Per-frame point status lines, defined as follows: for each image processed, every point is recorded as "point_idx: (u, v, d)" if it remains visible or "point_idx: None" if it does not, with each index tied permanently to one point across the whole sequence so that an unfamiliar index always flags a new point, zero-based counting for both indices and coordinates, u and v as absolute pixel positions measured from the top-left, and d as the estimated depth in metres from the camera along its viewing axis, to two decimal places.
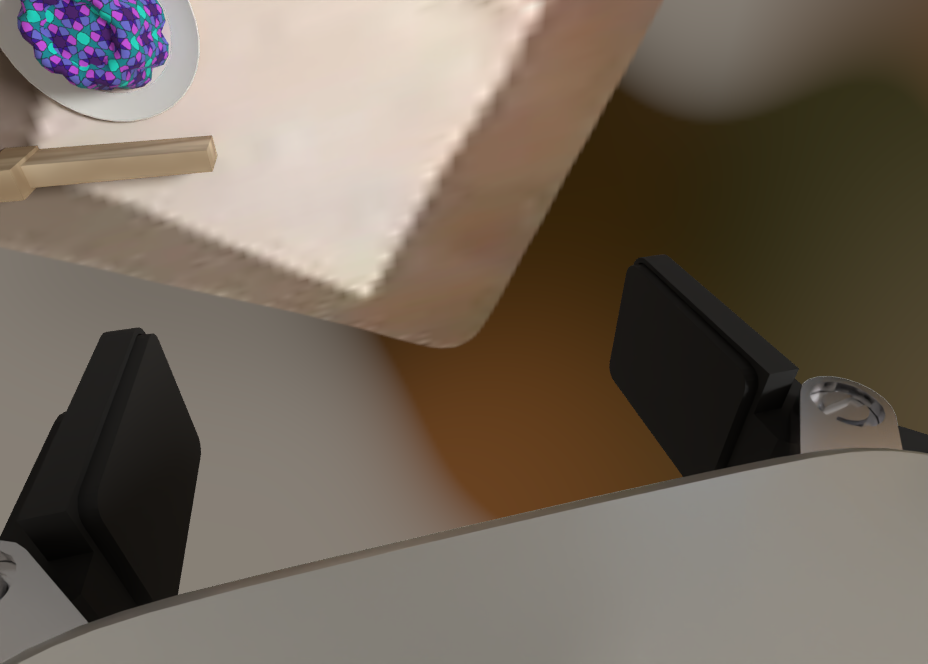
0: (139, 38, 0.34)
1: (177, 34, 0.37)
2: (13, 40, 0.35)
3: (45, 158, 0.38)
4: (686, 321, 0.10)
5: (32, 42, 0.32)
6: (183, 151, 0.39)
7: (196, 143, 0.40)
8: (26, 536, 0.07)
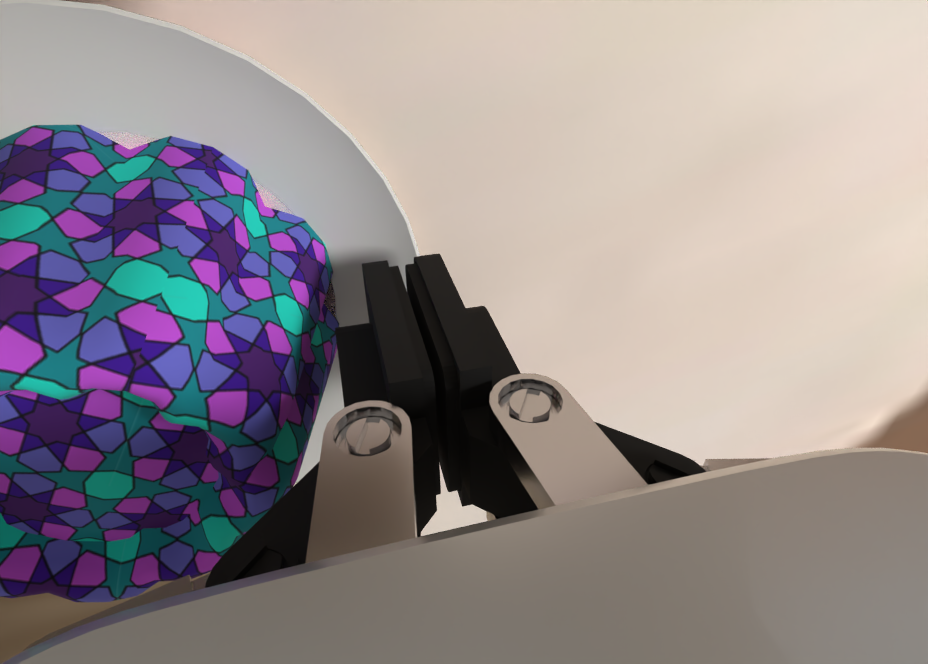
0: None
1: (364, 298, 0.13)
2: None
3: (3, 655, 0.14)
4: (424, 319, 0.10)
5: None
6: None
7: None
8: None
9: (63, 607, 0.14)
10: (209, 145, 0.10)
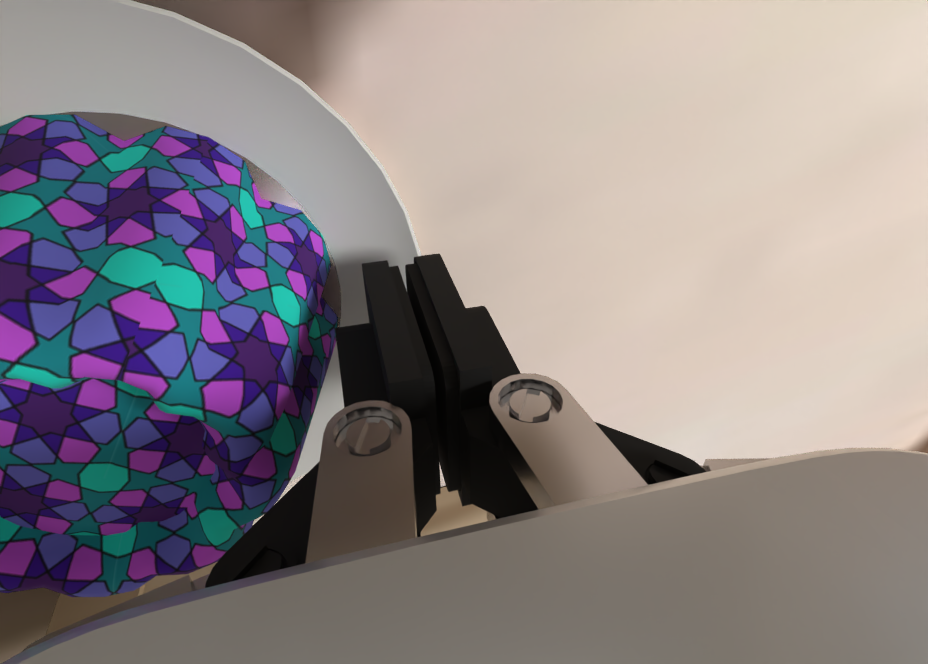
0: None
1: (363, 291, 0.13)
2: None
3: None
4: (424, 319, 0.10)
5: None
6: None
7: None
8: None
9: None
10: (205, 136, 0.10)
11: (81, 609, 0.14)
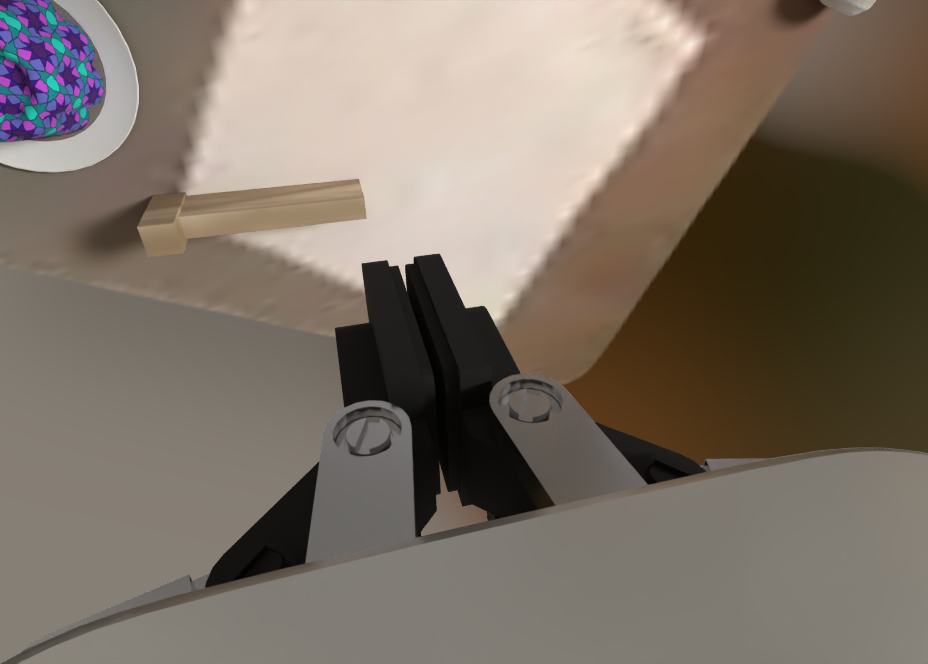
0: (59, 77, 0.29)
1: (110, 66, 0.32)
2: None
3: (200, 208, 0.36)
4: (424, 319, 0.10)
5: None
6: (339, 198, 0.37)
7: (348, 189, 0.38)
8: None
9: (218, 200, 0.37)
10: None
11: (159, 204, 0.36)
